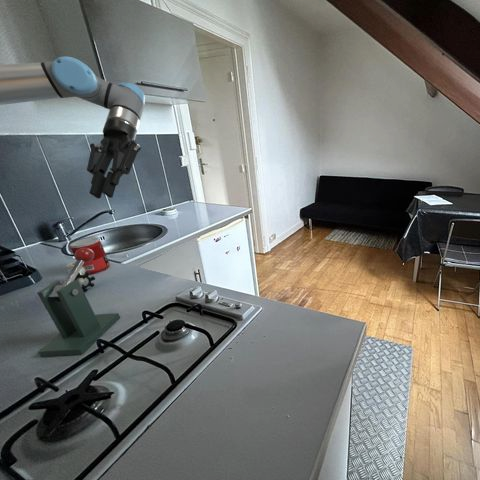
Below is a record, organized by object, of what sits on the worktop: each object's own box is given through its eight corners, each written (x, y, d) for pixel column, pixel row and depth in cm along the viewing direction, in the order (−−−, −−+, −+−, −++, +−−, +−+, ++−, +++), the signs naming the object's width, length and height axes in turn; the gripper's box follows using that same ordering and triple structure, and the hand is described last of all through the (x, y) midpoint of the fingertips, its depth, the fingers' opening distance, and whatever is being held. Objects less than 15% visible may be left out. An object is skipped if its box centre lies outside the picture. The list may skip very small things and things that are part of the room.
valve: (67, 283, 86) (71, 296, 78) (58, 265, 83) (62, 277, 75) (92, 275, 90) (99, 287, 82) (85, 258, 87) (90, 268, 80)
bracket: (85, 319, 67) (62, 273, 62) (120, 317, 67) (99, 271, 62) (40, 357, 56) (7, 304, 51) (82, 354, 56) (53, 301, 51)
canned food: (114, 266, 95) (102, 239, 91) (87, 276, 89) (73, 247, 85) (105, 262, 99) (94, 235, 95) (79, 271, 93) (65, 243, 89)
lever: (86, 253, 66) (75, 245, 63) (100, 252, 66) (90, 244, 63) (57, 302, 58) (42, 295, 55) (73, 301, 58) (59, 294, 55)
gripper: (155, 135, 81) (139, 200, 72) (105, 138, 81) (84, 204, 72) (139, 115, 74) (119, 185, 65) (84, 119, 74) (58, 189, 65)
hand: (101, 195), depth 69 cm, fingers open, 3 cm apart
